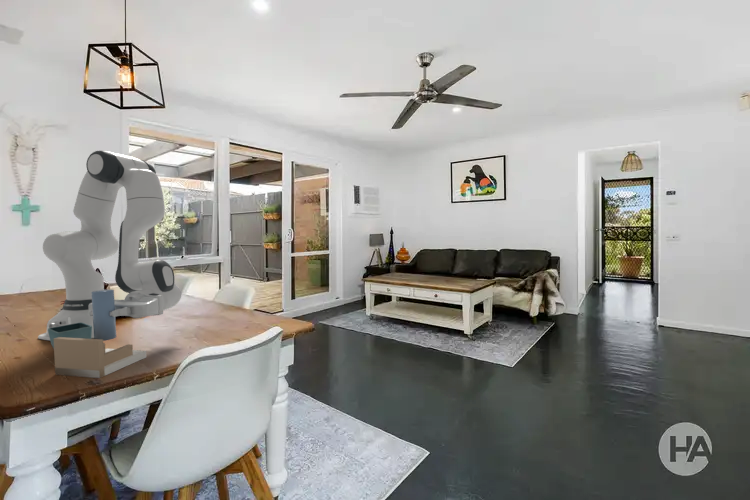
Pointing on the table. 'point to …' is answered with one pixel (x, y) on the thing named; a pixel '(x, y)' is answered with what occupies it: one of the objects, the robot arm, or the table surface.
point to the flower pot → (70, 331)
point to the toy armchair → (91, 357)
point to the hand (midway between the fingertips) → (101, 313)
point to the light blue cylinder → (103, 314)
